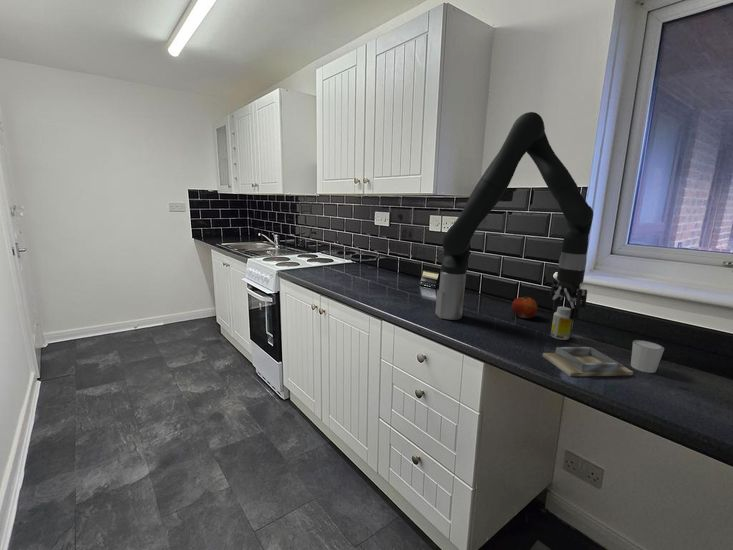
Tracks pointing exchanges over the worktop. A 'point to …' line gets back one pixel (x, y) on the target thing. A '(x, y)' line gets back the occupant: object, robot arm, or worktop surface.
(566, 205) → the robot arm
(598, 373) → the holder
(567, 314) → the supplement bottle
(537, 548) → the soap mold
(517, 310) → the tomato
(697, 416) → the worktop surface
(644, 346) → the shot glass
